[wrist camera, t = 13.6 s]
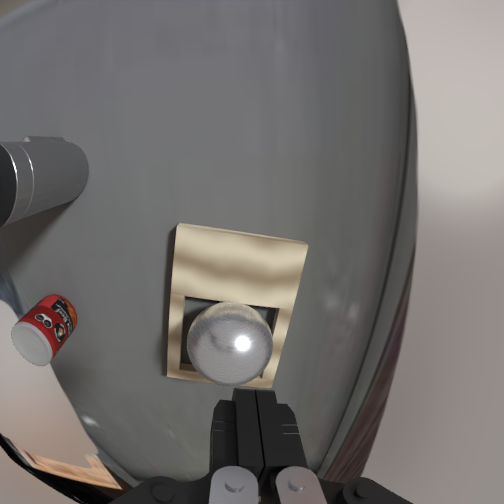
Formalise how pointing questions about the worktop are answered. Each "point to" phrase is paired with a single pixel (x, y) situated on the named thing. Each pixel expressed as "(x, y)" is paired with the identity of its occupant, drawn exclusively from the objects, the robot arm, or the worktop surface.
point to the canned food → (44, 329)
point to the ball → (229, 344)
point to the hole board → (233, 284)
